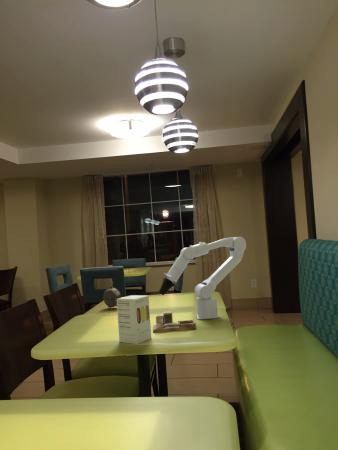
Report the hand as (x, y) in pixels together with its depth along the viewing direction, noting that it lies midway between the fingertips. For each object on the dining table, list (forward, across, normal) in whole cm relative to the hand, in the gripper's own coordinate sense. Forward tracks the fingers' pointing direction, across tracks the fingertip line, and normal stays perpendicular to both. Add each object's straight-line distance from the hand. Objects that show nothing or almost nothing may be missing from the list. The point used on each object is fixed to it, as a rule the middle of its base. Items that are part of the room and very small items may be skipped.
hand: (161, 293), depth 168 cm
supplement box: (+20, +24, 0) cm, 31 cm away
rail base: (+9, +12, +12) cm, 19 cm away
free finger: (+9, 0, +10) cm, 14 cm away
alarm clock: (+24, -50, -16) cm, 58 cm away
